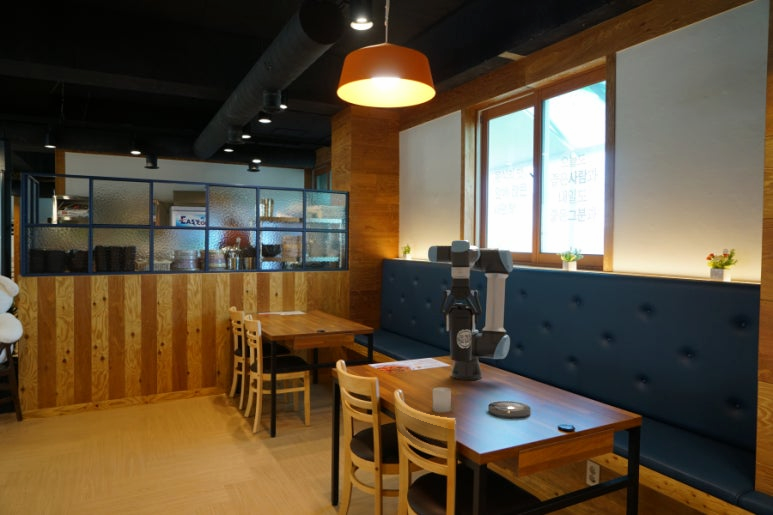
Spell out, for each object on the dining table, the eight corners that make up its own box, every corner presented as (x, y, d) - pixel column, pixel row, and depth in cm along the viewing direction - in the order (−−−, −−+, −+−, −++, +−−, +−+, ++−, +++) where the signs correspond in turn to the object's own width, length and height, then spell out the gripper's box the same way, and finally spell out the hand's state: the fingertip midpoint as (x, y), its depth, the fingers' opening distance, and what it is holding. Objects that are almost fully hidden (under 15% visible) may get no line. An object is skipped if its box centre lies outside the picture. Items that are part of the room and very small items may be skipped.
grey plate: (489, 404, 211) (489, 399, 211) (530, 407, 207) (530, 402, 207) (487, 417, 196) (487, 411, 196) (530, 420, 192) (530, 414, 192)
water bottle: (454, 362, 208) (454, 305, 208) (445, 357, 218) (444, 303, 218) (477, 361, 211) (477, 304, 211) (467, 356, 221) (467, 302, 221)
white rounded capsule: (434, 406, 209) (434, 386, 209) (451, 407, 208) (451, 387, 207) (431, 411, 203) (431, 391, 202) (449, 413, 201) (449, 392, 201)
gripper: (432, 277, 214) (432, 331, 214) (487, 278, 208) (487, 333, 208) (435, 276, 221) (435, 328, 221) (488, 277, 215) (489, 330, 215)
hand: (460, 331), depth 215 cm, fingers closed on water bottle, 10 cm apart
